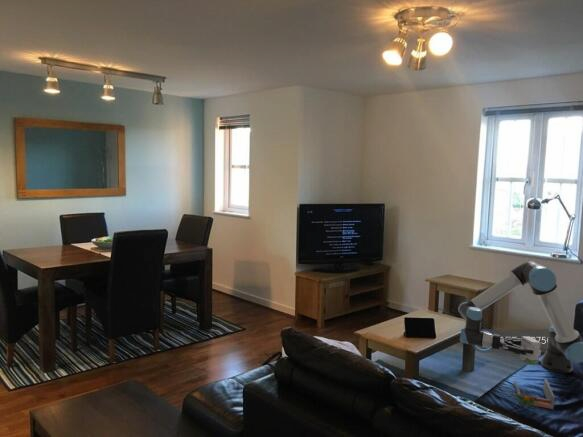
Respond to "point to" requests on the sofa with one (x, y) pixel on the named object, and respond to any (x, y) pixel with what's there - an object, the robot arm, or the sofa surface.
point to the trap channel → (541, 402)
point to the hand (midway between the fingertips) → (539, 349)
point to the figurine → (525, 399)
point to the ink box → (533, 344)
